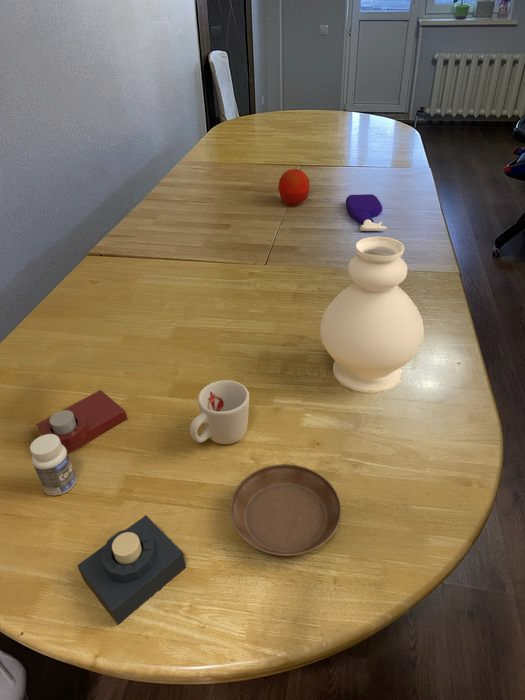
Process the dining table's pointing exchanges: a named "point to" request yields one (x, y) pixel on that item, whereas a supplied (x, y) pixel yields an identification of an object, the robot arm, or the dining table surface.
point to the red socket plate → (88, 420)
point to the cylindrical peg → (126, 548)
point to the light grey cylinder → (63, 422)
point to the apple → (294, 187)
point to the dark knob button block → (132, 570)
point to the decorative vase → (373, 320)
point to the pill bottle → (52, 465)
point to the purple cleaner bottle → (365, 211)
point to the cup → (222, 412)
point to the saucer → (285, 509)
